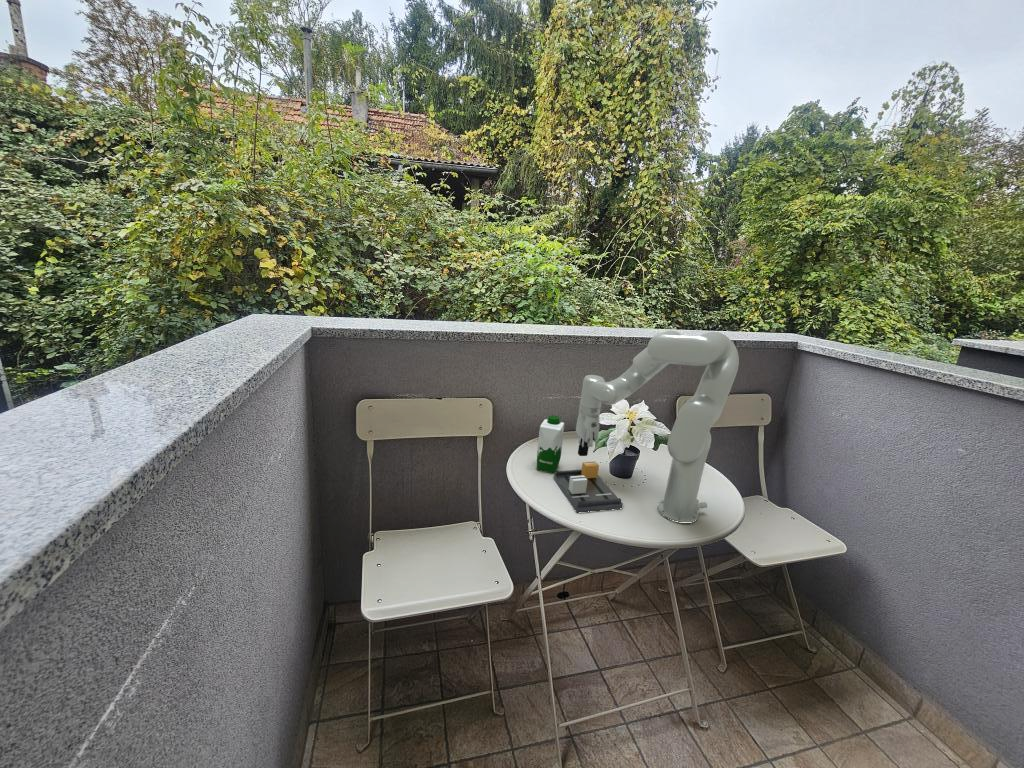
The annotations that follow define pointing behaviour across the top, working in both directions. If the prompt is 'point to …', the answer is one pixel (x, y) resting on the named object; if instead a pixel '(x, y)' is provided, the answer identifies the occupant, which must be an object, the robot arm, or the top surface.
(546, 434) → the milk carton
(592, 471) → the block
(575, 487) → the block
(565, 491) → the panel
